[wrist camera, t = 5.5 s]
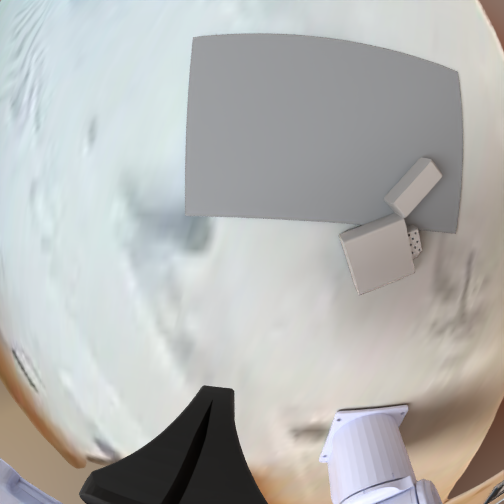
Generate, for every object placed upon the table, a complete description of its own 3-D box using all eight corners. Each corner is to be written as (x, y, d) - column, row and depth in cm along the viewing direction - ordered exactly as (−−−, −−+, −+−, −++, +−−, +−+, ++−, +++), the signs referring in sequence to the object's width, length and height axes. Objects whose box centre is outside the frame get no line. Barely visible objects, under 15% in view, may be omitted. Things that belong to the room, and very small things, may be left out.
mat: (453, 232, 18) (455, 233, 18) (187, 214, 19) (185, 215, 19) (455, 72, 14) (457, 71, 14) (194, 39, 16) (192, 37, 15)
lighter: (354, 284, 20) (445, 246, 18) (359, 296, 18) (456, 254, 16) (323, 192, 18) (426, 155, 16) (328, 197, 16) (439, 157, 14)
